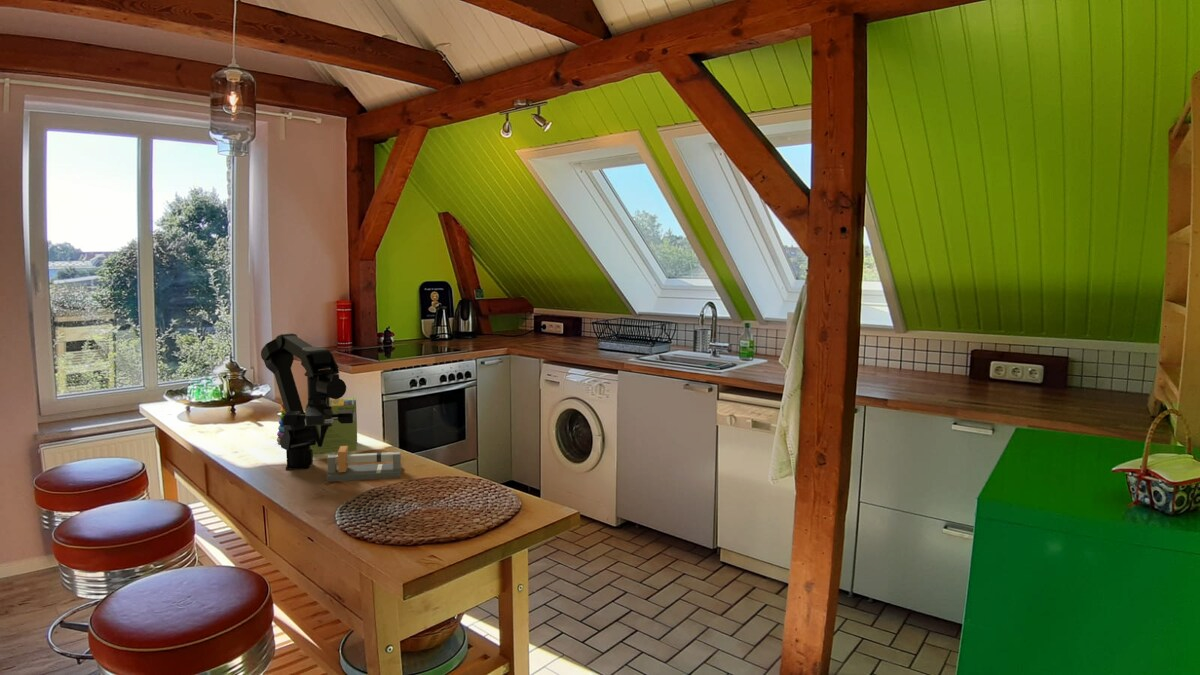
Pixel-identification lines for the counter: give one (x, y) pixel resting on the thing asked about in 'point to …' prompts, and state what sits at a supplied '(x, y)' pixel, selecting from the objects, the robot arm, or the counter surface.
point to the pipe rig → (365, 466)
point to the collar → (342, 459)
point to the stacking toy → (281, 427)
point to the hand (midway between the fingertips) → (320, 446)
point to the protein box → (339, 429)
